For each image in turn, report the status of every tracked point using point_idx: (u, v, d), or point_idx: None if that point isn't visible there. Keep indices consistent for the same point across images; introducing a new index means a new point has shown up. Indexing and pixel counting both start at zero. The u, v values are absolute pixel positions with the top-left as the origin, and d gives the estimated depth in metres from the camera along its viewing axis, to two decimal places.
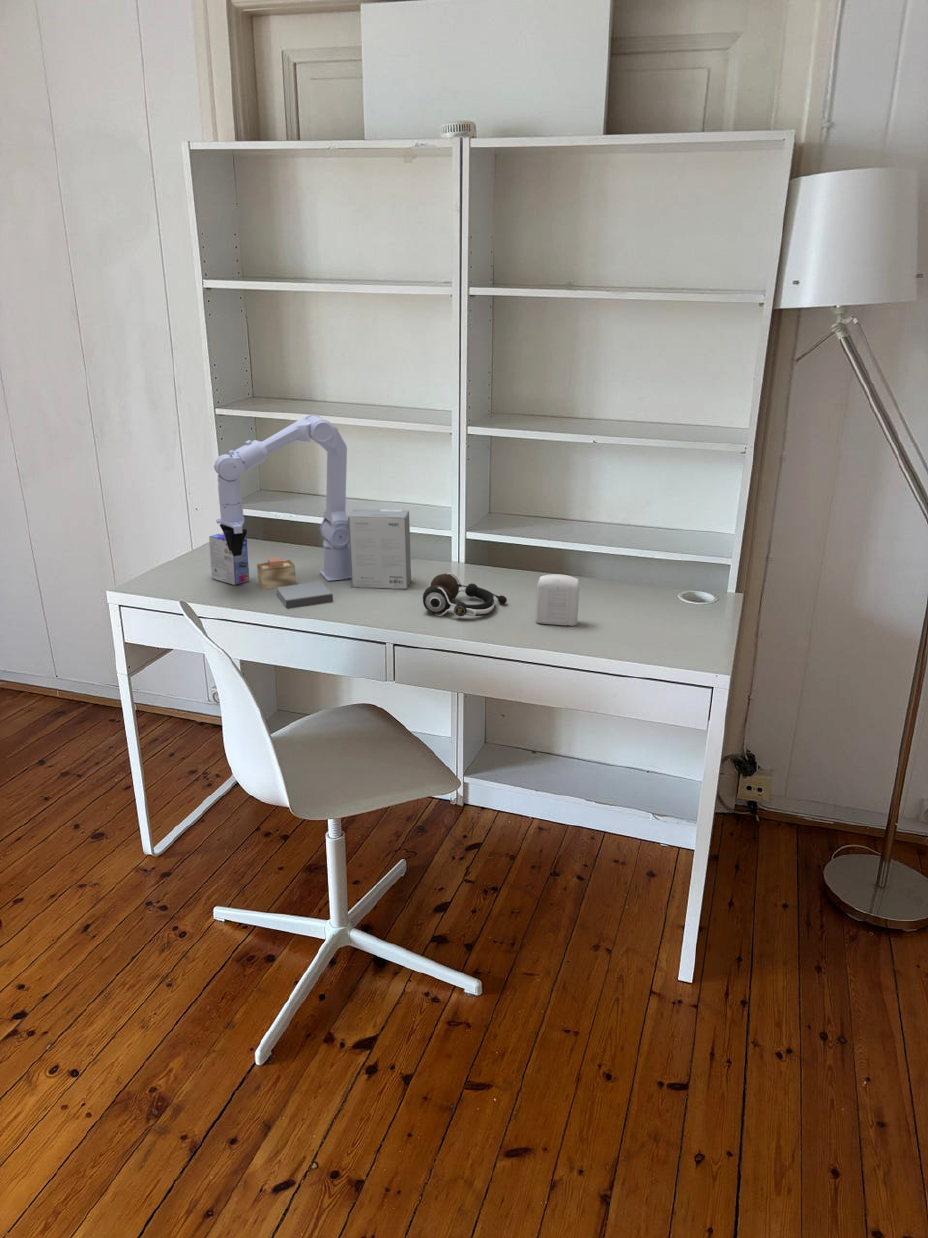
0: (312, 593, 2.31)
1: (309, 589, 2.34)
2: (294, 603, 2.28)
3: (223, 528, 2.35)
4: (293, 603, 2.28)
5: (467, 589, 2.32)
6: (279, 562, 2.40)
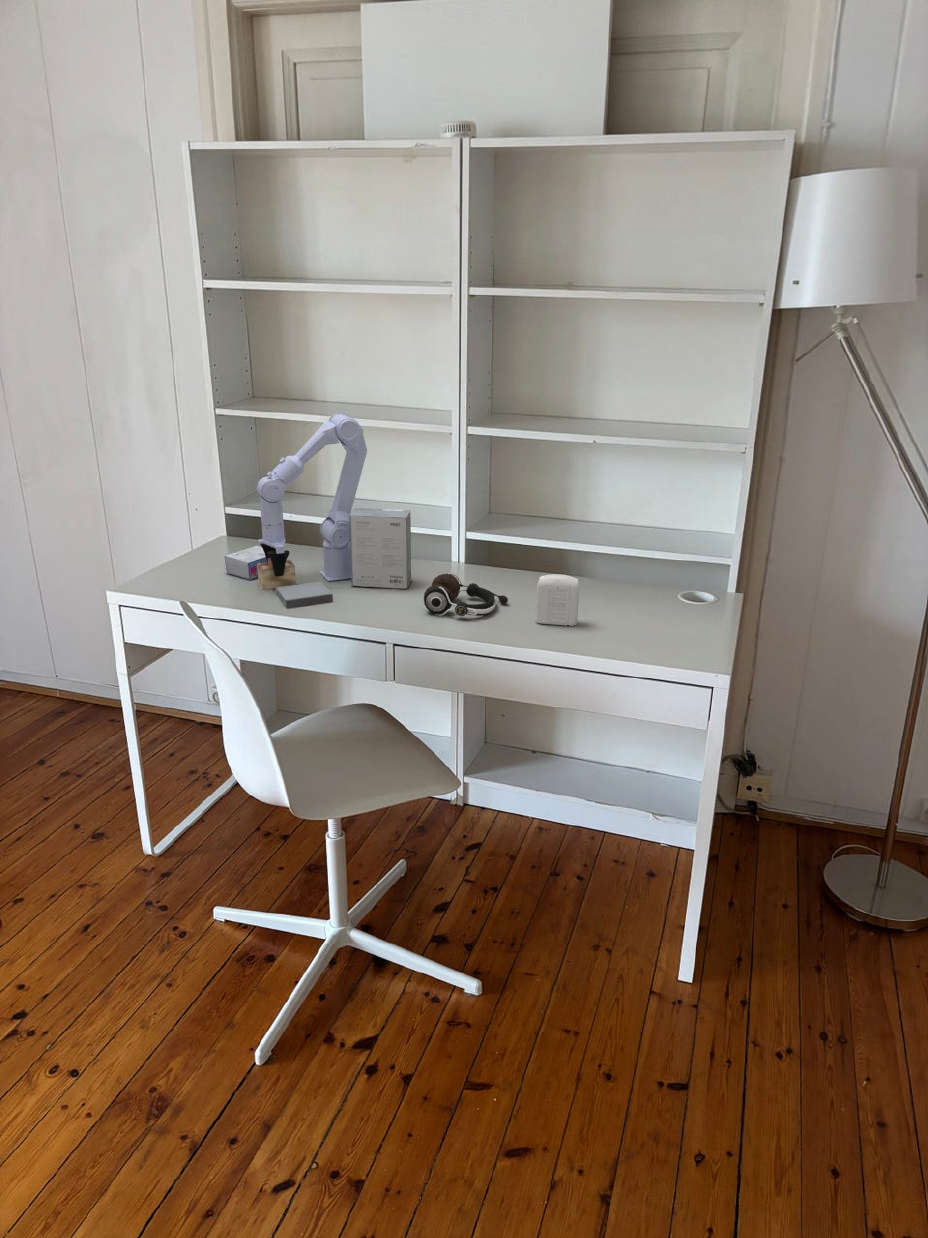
0: (312, 593, 2.31)
1: (309, 589, 2.34)
2: (294, 603, 2.28)
3: (263, 546, 2.43)
4: (293, 603, 2.28)
5: (468, 589, 2.32)
6: None
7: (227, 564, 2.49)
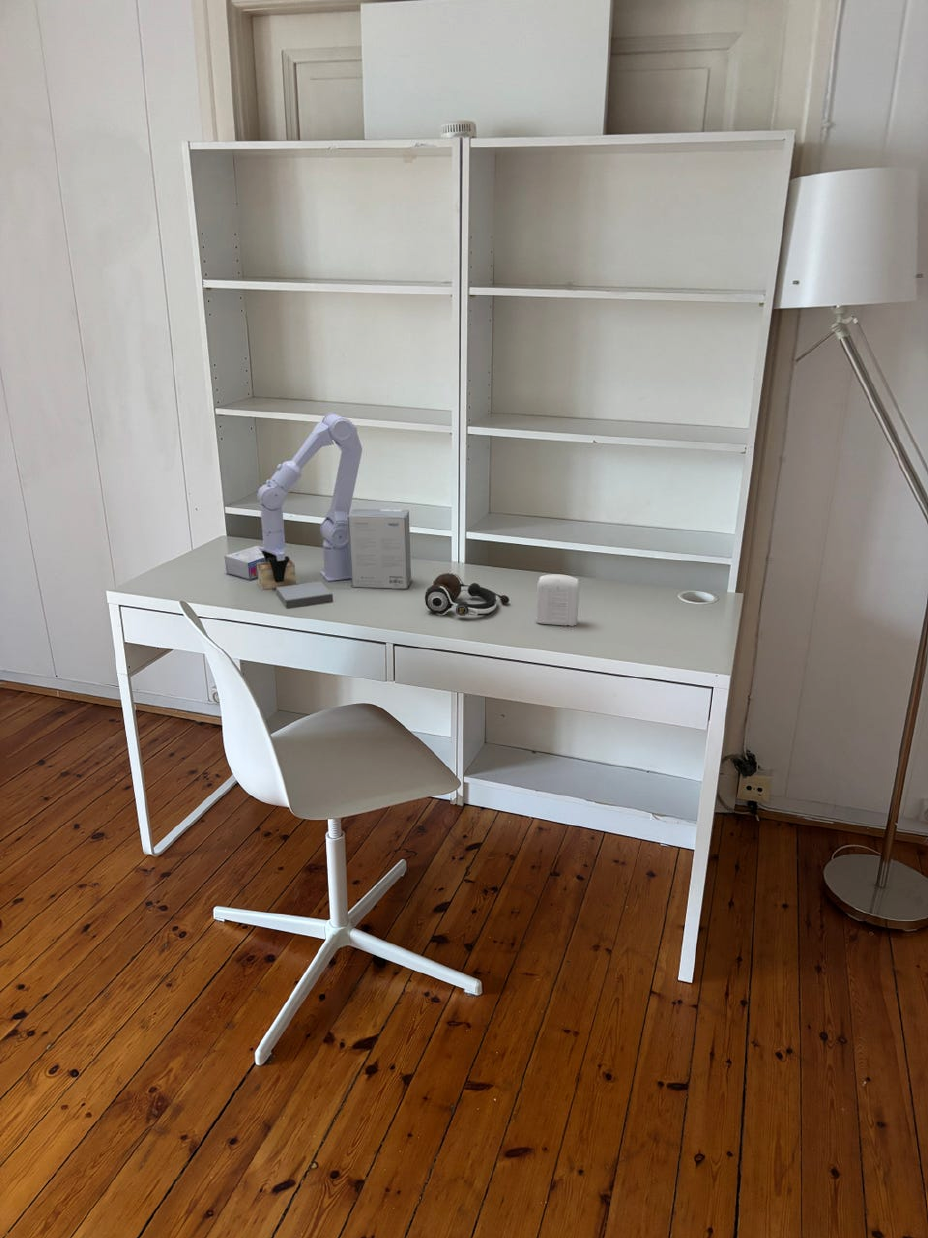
0: (312, 593, 2.31)
1: (309, 589, 2.34)
2: (294, 603, 2.28)
3: (265, 554, 2.43)
4: (293, 603, 2.28)
5: (469, 589, 2.33)
6: None
7: (227, 564, 2.49)
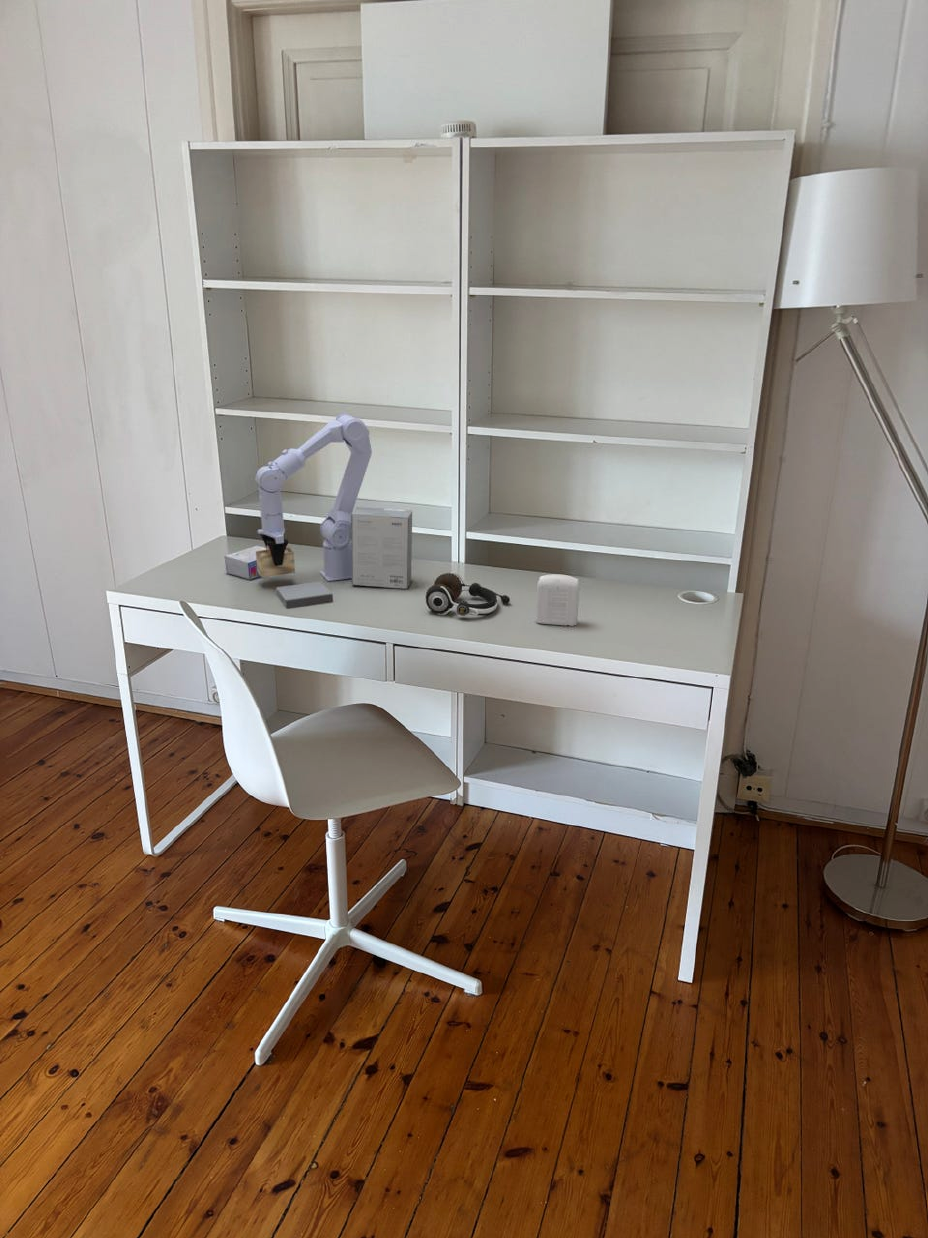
0: (312, 593, 2.31)
1: (309, 589, 2.34)
2: (294, 603, 2.28)
3: (263, 537, 2.41)
4: (293, 603, 2.28)
5: (470, 588, 2.33)
6: None
7: (227, 564, 2.49)
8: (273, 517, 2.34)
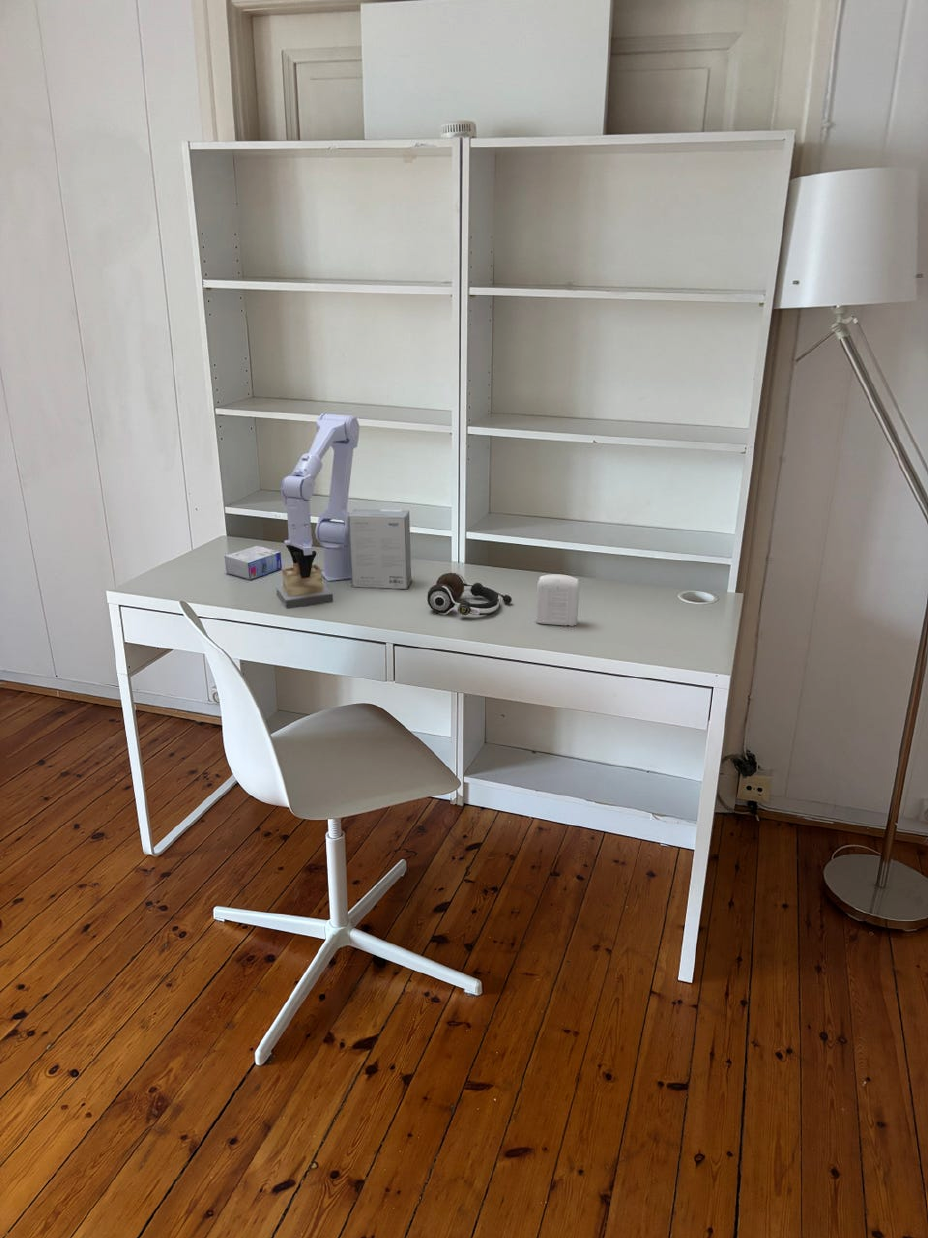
0: (312, 593, 2.31)
1: None
2: (294, 603, 2.28)
3: (290, 548, 2.31)
4: (293, 603, 2.28)
5: (472, 588, 2.33)
6: None
7: (227, 564, 2.49)
8: (301, 527, 2.25)
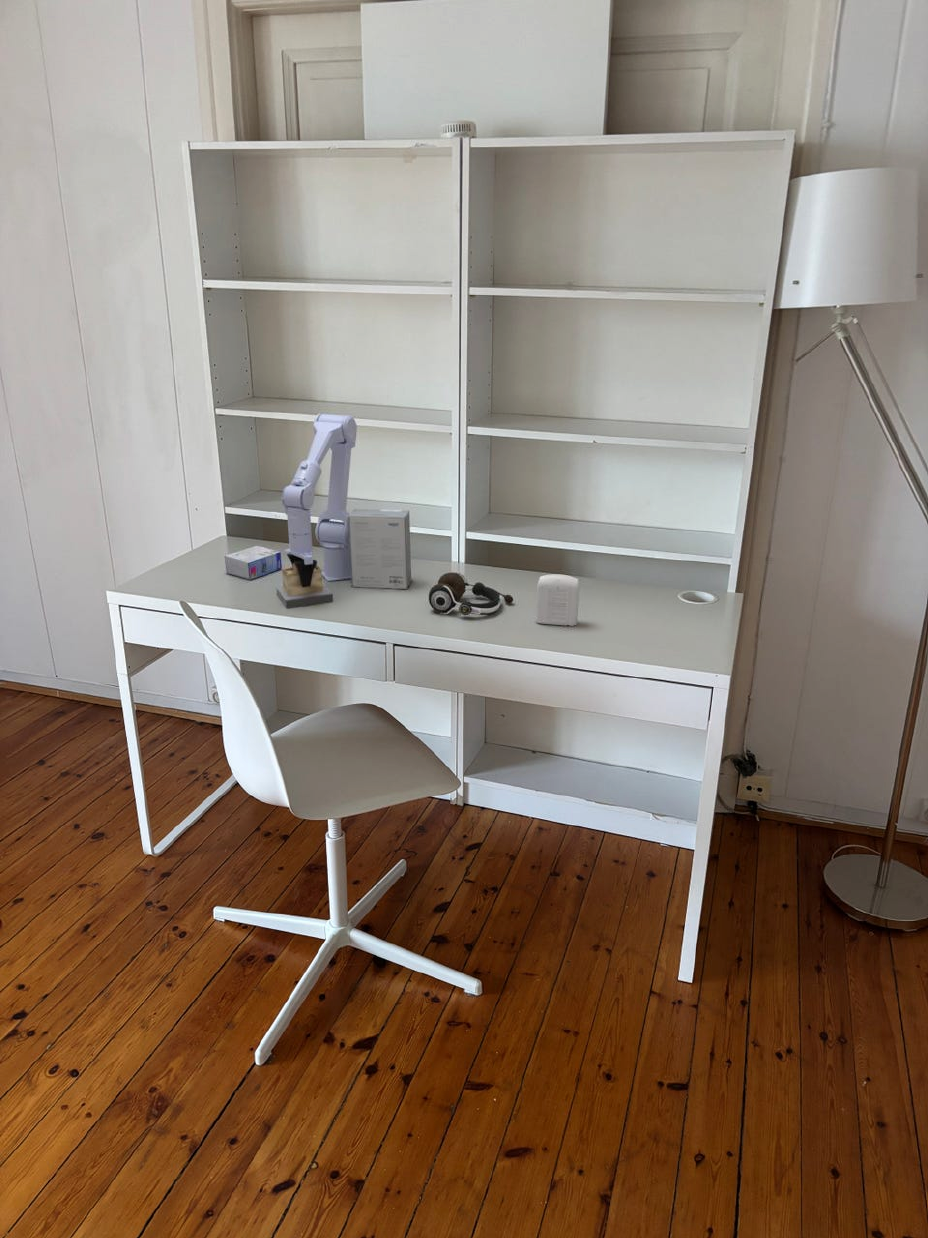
0: (312, 593, 2.31)
1: None
2: (294, 603, 2.28)
3: (291, 557, 2.32)
4: (293, 603, 2.28)
5: (474, 588, 2.33)
6: None
7: (227, 564, 2.49)
8: (302, 537, 2.25)
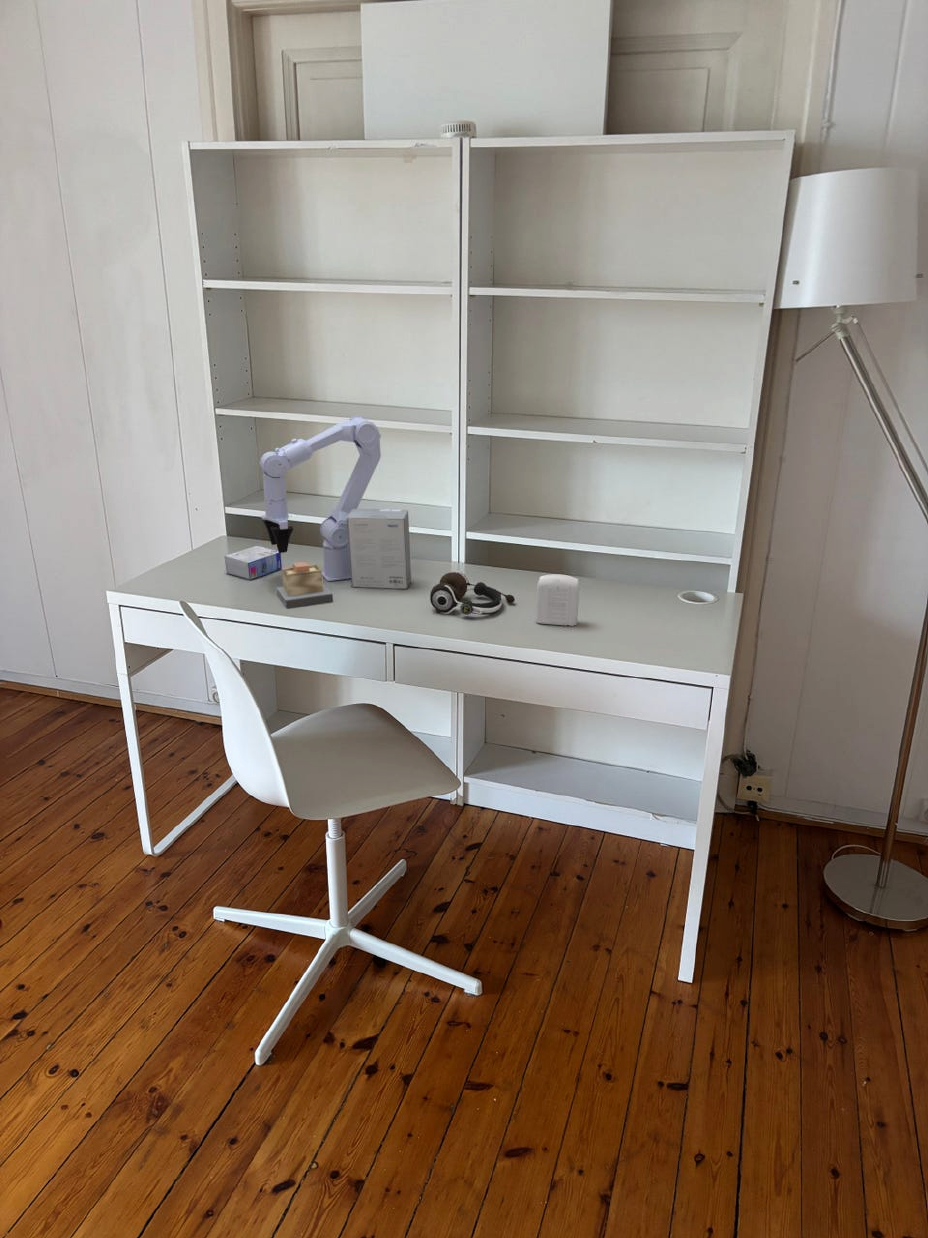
0: (312, 593, 2.31)
1: None
2: (294, 603, 2.28)
3: (266, 523, 2.41)
4: (293, 603, 2.28)
5: (475, 588, 2.33)
6: (305, 567, 2.30)
7: (227, 564, 2.49)
8: (277, 503, 2.33)
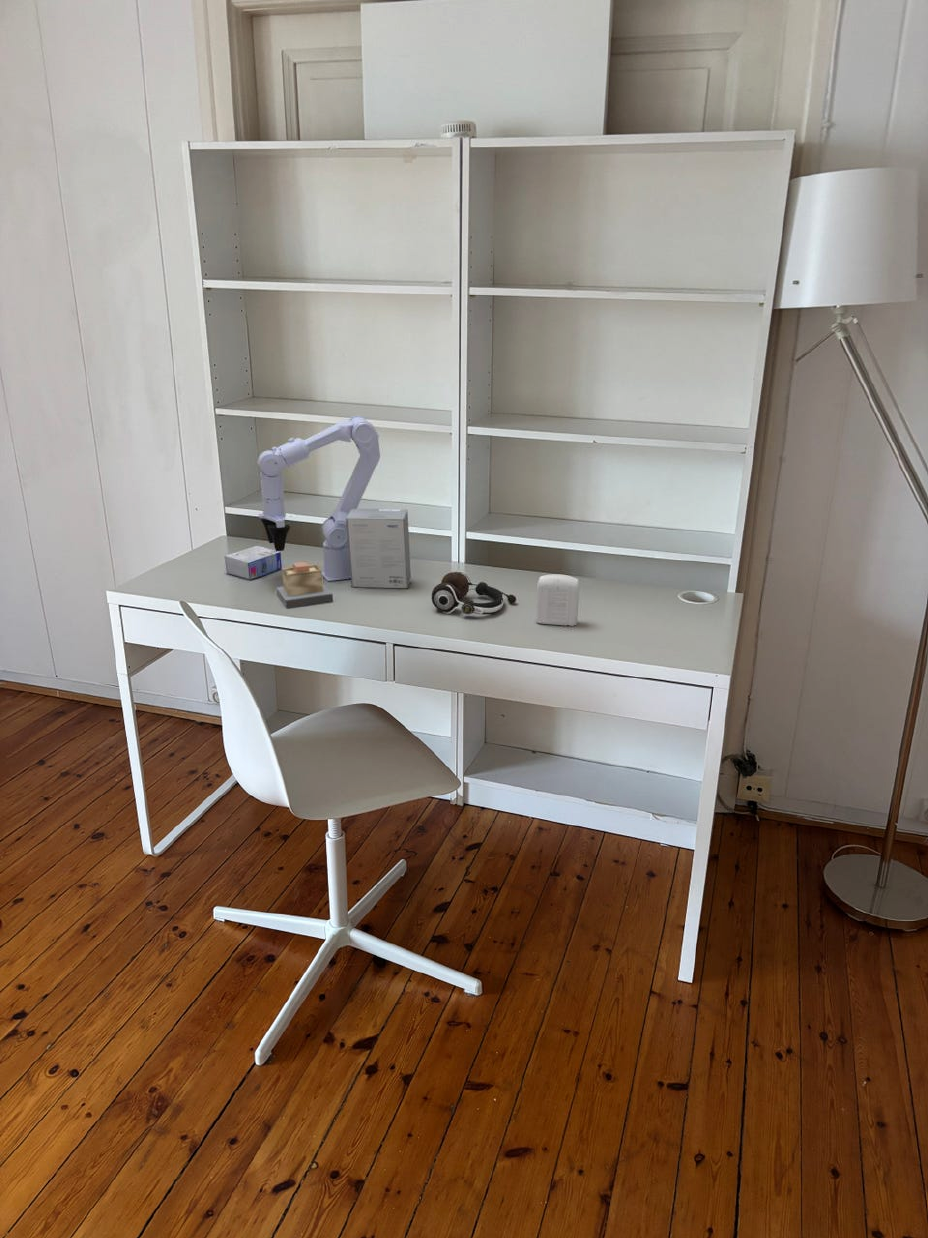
0: (312, 593, 2.31)
1: None
2: (294, 603, 2.28)
3: (263, 521, 2.42)
4: (293, 603, 2.28)
5: (477, 587, 2.33)
6: (305, 567, 2.30)
7: (227, 564, 2.49)
8: (274, 501, 2.35)
